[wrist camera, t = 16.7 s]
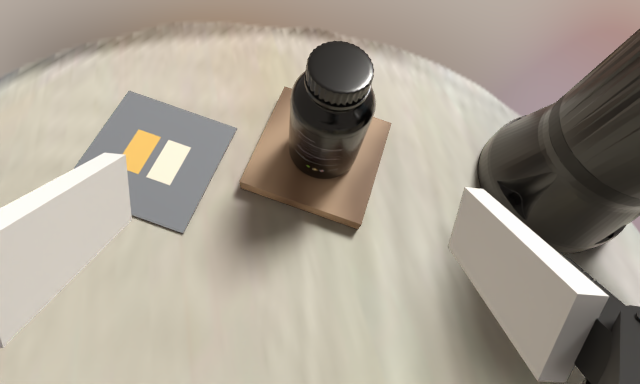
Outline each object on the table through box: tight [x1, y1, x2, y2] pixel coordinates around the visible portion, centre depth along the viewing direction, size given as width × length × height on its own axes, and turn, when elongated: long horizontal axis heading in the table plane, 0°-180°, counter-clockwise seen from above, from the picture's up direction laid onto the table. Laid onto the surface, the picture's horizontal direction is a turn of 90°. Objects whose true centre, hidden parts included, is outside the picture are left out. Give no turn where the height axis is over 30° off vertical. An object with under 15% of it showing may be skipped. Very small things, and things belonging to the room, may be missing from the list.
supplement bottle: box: [289, 41, 376, 179], centre depth 31 cm, size 7×7×12 cm
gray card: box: [74, 91, 237, 233], centre depth 35 cm, size 12×12×1 cm
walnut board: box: [240, 87, 391, 229], centre depth 37 cm, size 12×12×2 cm
